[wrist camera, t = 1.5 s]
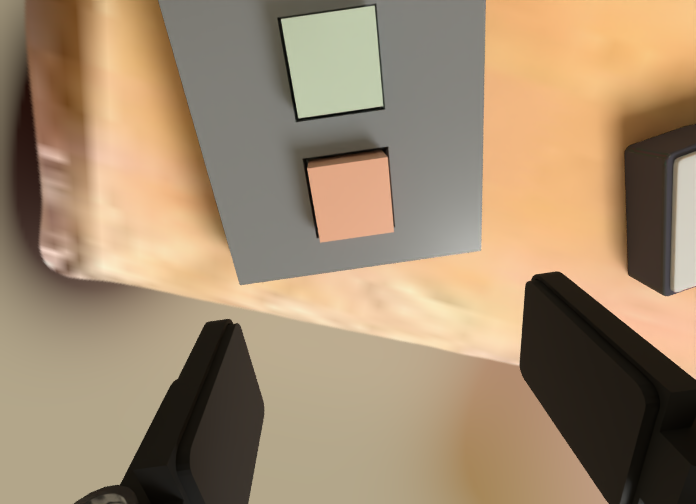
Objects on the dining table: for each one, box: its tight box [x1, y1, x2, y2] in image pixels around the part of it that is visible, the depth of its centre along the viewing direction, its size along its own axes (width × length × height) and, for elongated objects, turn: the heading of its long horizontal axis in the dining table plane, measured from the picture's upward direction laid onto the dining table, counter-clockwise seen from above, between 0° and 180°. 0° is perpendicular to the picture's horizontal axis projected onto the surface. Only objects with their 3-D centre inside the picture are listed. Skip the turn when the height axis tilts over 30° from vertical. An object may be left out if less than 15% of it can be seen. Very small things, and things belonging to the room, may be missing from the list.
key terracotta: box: [307, 150, 394, 243], centre depth 22 cm, size 4×4×2 cm
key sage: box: [281, 6, 383, 118], centre depth 20 cm, size 4×4×2 cm
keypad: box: [158, 0, 486, 285], centre depth 21 cm, size 24×16×4 cm, turn 7°
